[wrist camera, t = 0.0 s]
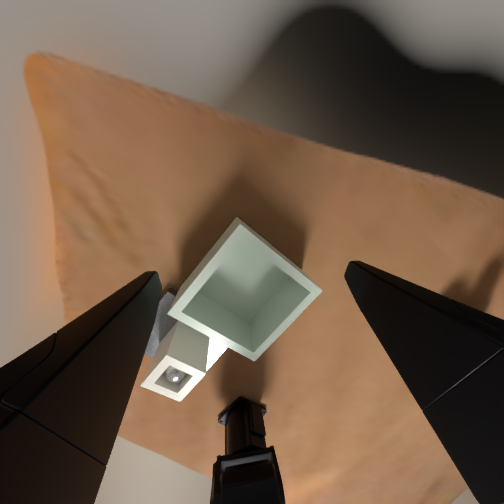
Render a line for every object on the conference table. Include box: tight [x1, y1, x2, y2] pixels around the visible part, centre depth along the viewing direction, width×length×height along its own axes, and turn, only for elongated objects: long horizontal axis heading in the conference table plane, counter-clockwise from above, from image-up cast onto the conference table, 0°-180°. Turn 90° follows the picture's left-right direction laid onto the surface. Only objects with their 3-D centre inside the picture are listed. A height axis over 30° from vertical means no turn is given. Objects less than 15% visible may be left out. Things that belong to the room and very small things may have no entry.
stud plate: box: [145, 288, 228, 382], centre depth 24 cm, size 10×12×7 cm
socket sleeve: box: [140, 320, 210, 402], centre depth 23 cm, size 5×5×6 cm
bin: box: [167, 217, 323, 362], centre depth 23 cm, size 12×12×6 cm
